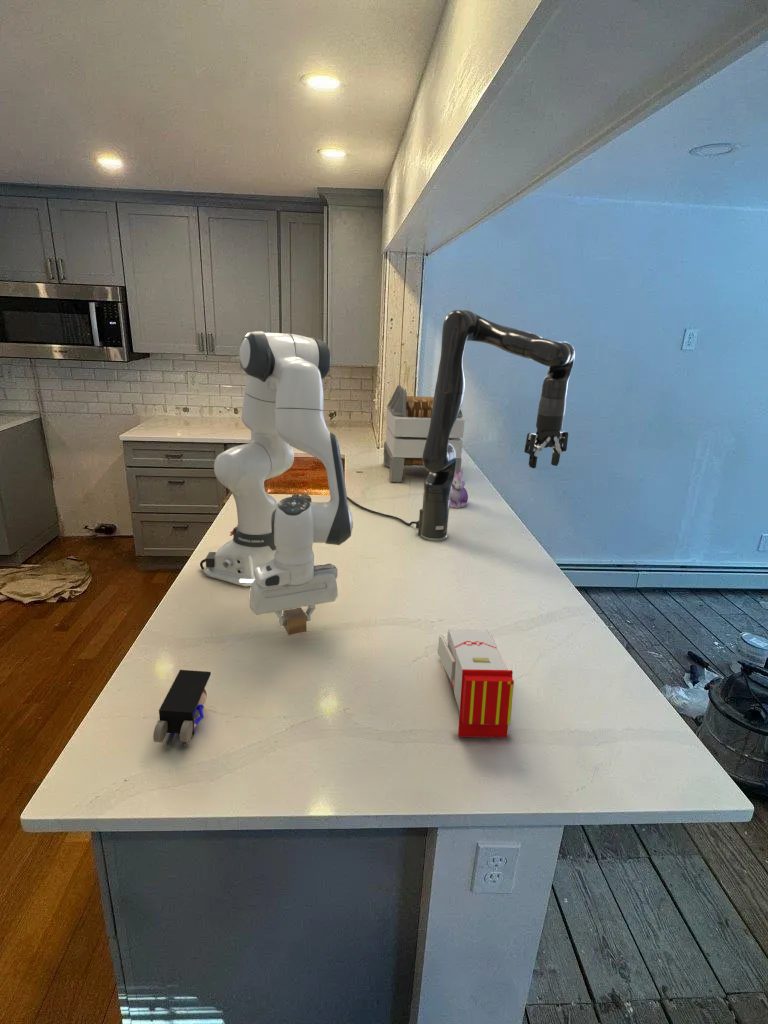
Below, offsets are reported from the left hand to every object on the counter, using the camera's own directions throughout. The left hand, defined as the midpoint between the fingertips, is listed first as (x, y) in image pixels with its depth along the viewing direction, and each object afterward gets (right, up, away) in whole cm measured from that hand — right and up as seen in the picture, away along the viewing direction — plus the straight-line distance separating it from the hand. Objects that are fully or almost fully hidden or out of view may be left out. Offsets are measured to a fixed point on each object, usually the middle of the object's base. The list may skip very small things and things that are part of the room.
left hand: (294, 622), depth 133 cm
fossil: (-12, +22, +74) cm, 78 cm away
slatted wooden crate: (+38, +45, +142) cm, 154 cm away
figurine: (+51, +29, +100) cm, 116 cm away
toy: (+39, -12, -14) cm, 43 cm away
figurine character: (-16, -14, -27) cm, 35 cm away
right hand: (+69, +40, +38) cm, 88 cm away
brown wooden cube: (0, -2, +1) cm, 2 cm away
